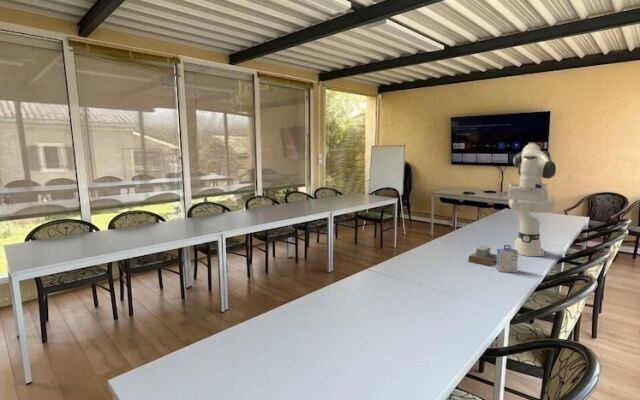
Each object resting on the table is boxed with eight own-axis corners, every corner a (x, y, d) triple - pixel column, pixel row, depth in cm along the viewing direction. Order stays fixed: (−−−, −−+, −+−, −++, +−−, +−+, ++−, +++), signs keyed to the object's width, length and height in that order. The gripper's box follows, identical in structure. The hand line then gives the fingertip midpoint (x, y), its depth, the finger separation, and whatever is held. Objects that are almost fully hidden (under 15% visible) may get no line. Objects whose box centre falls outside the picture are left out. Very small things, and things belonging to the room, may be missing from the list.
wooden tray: (476, 256, 225) (477, 250, 224) (496, 260, 216) (497, 254, 216) (468, 261, 215) (468, 255, 214) (488, 266, 206) (489, 259, 206)
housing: (475, 255, 214) (476, 247, 213) (481, 252, 220) (482, 244, 219) (484, 257, 210) (484, 249, 209) (490, 254, 216) (490, 246, 216)
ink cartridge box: (514, 269, 200) (515, 245, 198) (517, 272, 195) (519, 247, 193) (495, 268, 202) (497, 244, 200) (498, 271, 197) (500, 246, 195)
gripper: (506, 183, 204) (505, 207, 206) (547, 186, 189) (545, 211, 191) (510, 182, 208) (508, 205, 210) (550, 185, 194) (548, 209, 196)
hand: (526, 208), depth 201 cm, fingers open, 8 cm apart
